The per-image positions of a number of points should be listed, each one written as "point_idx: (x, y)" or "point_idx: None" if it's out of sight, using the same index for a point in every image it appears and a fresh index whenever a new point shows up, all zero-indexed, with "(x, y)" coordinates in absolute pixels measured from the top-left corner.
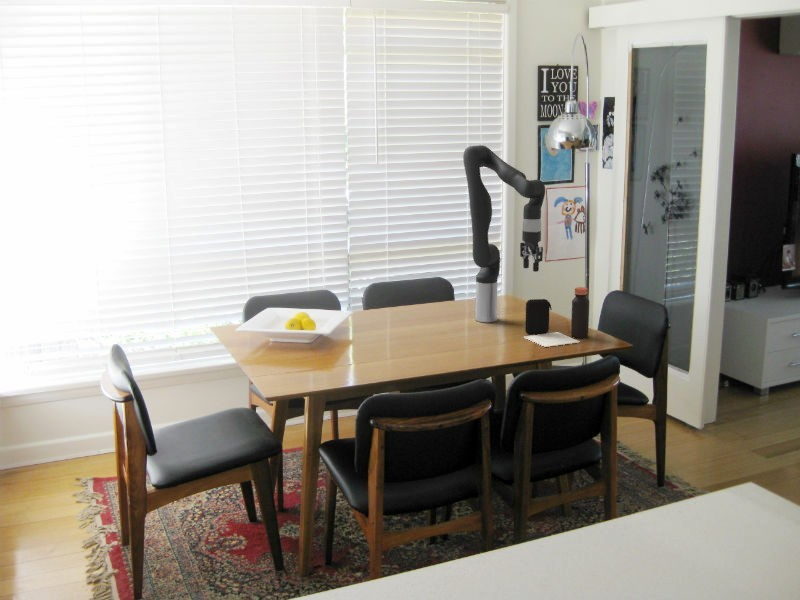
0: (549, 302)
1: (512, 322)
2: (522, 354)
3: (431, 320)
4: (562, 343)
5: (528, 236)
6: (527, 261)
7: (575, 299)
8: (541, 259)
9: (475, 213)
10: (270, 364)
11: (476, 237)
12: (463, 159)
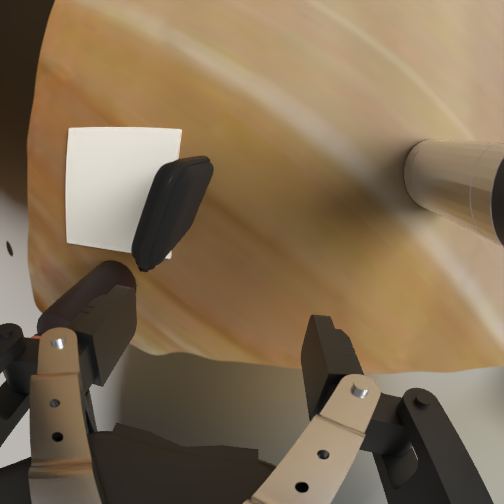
0: (140, 270)
1: (365, 225)
2: (64, 48)
3: (493, 57)
4: (69, 189)
5: None
6: (312, 389)
7: (50, 323)
8: (6, 379)
9: None
10: None
11: None
12: None
